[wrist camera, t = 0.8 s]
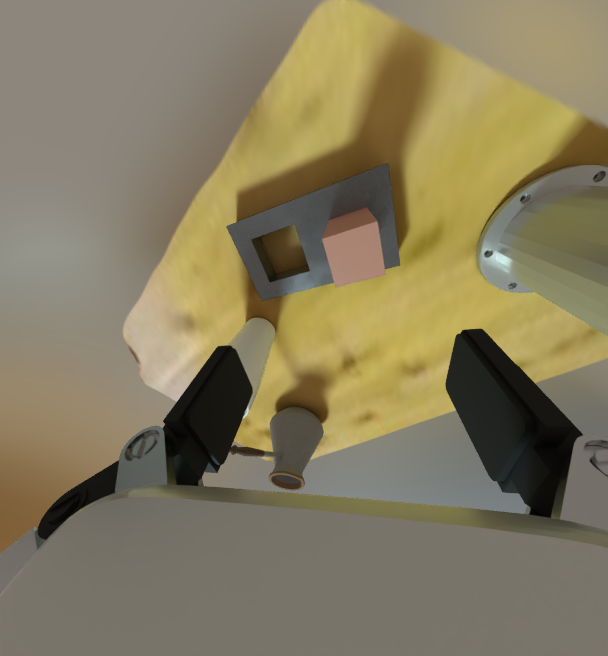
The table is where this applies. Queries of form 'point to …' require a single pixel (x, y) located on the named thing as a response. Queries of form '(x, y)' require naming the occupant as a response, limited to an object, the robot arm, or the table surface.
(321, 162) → the table surface
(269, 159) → the table surface
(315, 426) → the coffee pot
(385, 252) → the square hole plate
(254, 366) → the drinking glass
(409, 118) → the table surface
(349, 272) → the square peg
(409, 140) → the table surface
